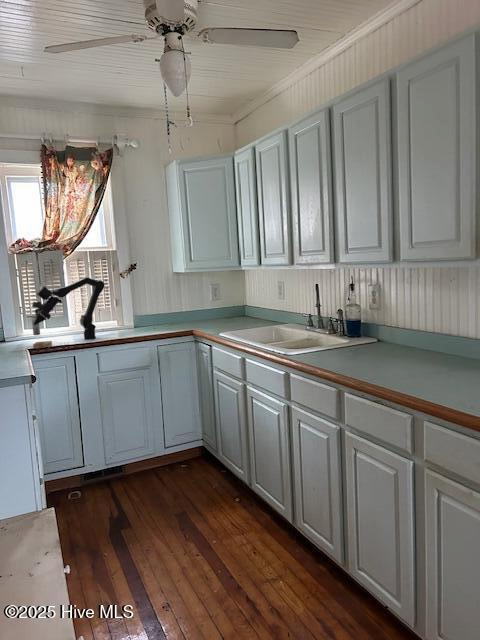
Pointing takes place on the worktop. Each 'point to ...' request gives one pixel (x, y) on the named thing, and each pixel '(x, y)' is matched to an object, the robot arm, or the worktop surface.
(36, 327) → the column
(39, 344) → the step
